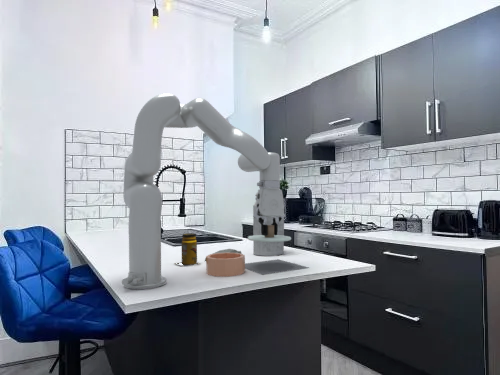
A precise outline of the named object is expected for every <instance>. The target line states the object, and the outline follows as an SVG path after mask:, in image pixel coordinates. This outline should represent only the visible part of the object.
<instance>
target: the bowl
mask: <svg viewBox="0 0 500 375" xmlns="http://www.w3.org/2000/svg"><path fill="white" fill-rule="evenodd" d="M214 253H215V252H214ZM205 258H206V262H205V265H206V266H205V271H206V274H207V275H208V276H212V277H236V276H241V275H244V273H245V272H246V269H245V263H246V255H245V254H243V253H242V254H240V253H215V254H213V253H211V254H207V255H206V256H205Z"/></svg>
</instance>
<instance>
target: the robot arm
mask: <svg viewBox="0 0 500 375" xmlns="http://www.w3.org/2000/svg"><path fill="white" fill-rule="evenodd" d="M196 127H198V128H199V130H201V131H202V132H203V133H204V134H206V136H207V137H209V139H211V140H212V142H214V143H215V144H216V145H218V146H221V147H224V148H229V149H232V150H233V151H235V152H238V153H239V154H240V155H239V156H238V157H237V158H238V159H237V165H238V166H237V167H239V169H240V170H241V171H243V172H245V173H252V172H259V181H258V182H257V183H256V186H257V187H259V189H258V190H257V192H258V193H257V192H256V193H257V199H256V198H255V202H256V211H255V213H254V215H252V218H253V217H254V218H255V219H257V220H258V221H259V223H260V224H261V233H262V235H264V236H267V235H268V225H266V222H267V216H272V223H273V224H271V225H274V235H277V232H278V224H279V222H280V221H281V219H283V218H284V219H285V217H286V214H285V203H284V195H283V190H282V189H280V187H281V184H280V183H281V182H280V181H281V179H280V178H281V176H280V173H281V169H280V168H281V167H280V166H281V165H280V164H281V163H280V162H281V158H280V155H279V153H278V152H277V153H276V152H271V151H270V152H268V151H267V149H266V148H265V147H264V146H263V145H262V144H261V143H260V142H259V141H258V140H257V139H256V138H255V137H253V136H252V135H250V134H248V133H246V132H245V131H243V130H241V129H240V128H238V127H236V126H234V125H232V124H231V122H229V121H228V120H227V119H226V118H225V117H224V116H223V115H222V114H221V113H220V111H218V110H217V109H216V108H215V107H214V106H213V105H212V104H211V103H210V101H208V100H207V99H205V98H202V97H197V98H194V99H191V100H190V101H189V102H187V103H181V102H180V99H179V98H178V97H177V96H176V95H175V94H173V93H167V92H165V93H160V94H158V95H155V96H154V97H152V98H150V99H149V100H148V101H147V102H145V104H144V105H143V106H142V108H141V109H140V111H139V113H138V115H137V116H136V120H135V124H134V132H133V139H132V150H131V153H130V154H129V155H128V157H126V161H125V164H124V171H123V173H124V176H123V203H124V205H125V206H126V207H127V208H128V209H129V212H128V213H129V214H128V273H127V274H128V276H127V277H125V278H122V280H121V284H122V285H123V287H124V288H126V289H130V290H146V289H147V290H149V289H154V288H159V287H161V286H164V285H166V283H167V278H166V277H164V276H162V233H161V231H162V229H161V228H162V227H161V225H162V223H161V222H162V218H161V217H162V209H163V195H162V193H161V190H160V188H159V187H158V186H157V185H156V184H154V176H155V175H157V174H158V172H160V169H161V165H162V141H163V133H164V128H165V129H166V128H170V129H171V128H173V129H174V128H175V129H177V128H178V129H187V128H188V129H189V128H190V129H191V128H196ZM259 216H261V217H259ZM278 216H279V217H278Z"/></svg>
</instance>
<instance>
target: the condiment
mask: <svg viewBox="0 0 500 375" xmlns="http://www.w3.org/2000/svg"><path fill="white" fill-rule="evenodd" d="M181 239H182V240H181V262H173V264H174V265H176V263H177V264H179V263H182V264H183V266H182V267H185V266H184V265H188V266H195V265H194V264H197V263H198V264H199V265H201V263H199V262H198V242H197V236H196V233H191V232H190V233H189V232H188V233H183V234H182V238H181Z"/></svg>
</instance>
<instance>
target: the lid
mask: <svg viewBox="0 0 500 375" xmlns="http://www.w3.org/2000/svg"><path fill="white" fill-rule="evenodd" d="M247 240H249V241H252V242H253V241H260V242H283V241H284V242H288V241H289V242H290V241H291V240H292V237H291V236H289V235H284V236H283V235H274V225H268V235H267V236H264V235H248V236H247Z"/></svg>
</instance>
